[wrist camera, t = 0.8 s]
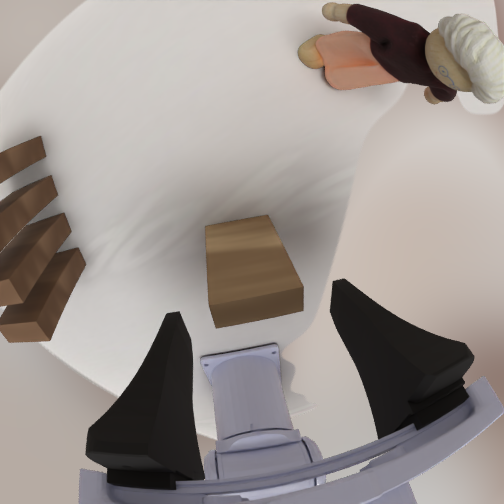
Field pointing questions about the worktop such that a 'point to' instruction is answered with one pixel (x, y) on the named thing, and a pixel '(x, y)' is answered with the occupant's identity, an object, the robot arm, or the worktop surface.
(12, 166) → the domino
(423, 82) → the grandmother figurine
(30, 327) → the domino
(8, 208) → the domino
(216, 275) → the domino
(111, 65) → the worktop surface
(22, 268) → the domino
